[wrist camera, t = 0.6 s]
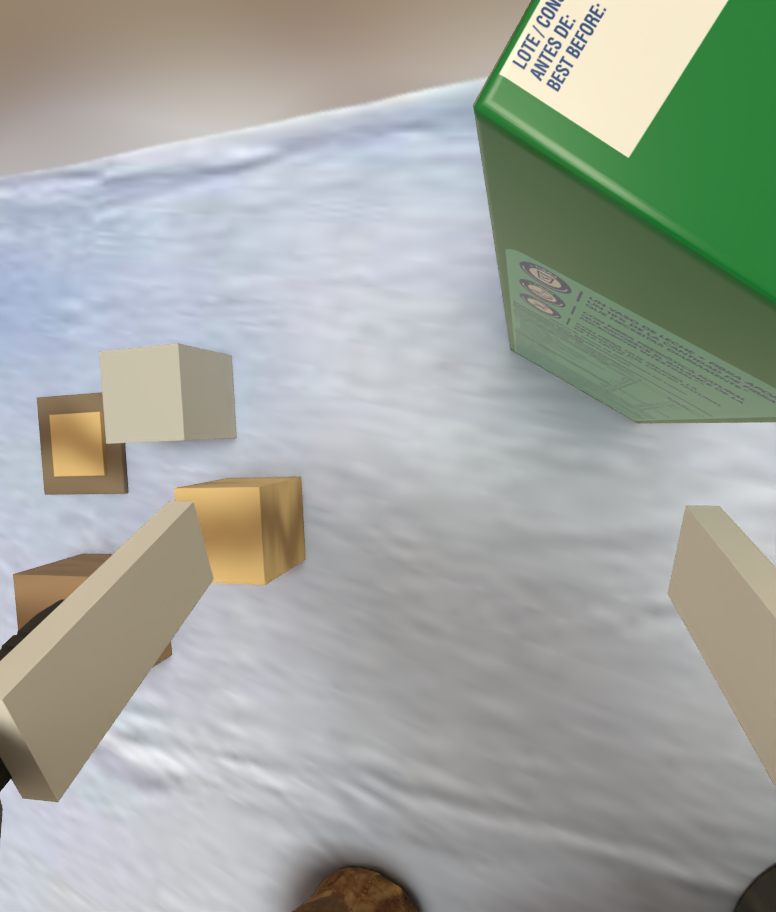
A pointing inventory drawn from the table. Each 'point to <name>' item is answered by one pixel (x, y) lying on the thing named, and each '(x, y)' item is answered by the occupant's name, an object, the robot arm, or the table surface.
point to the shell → (357, 894)
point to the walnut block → (57, 586)
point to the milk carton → (639, 201)
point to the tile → (79, 447)
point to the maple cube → (249, 526)
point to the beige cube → (167, 394)
